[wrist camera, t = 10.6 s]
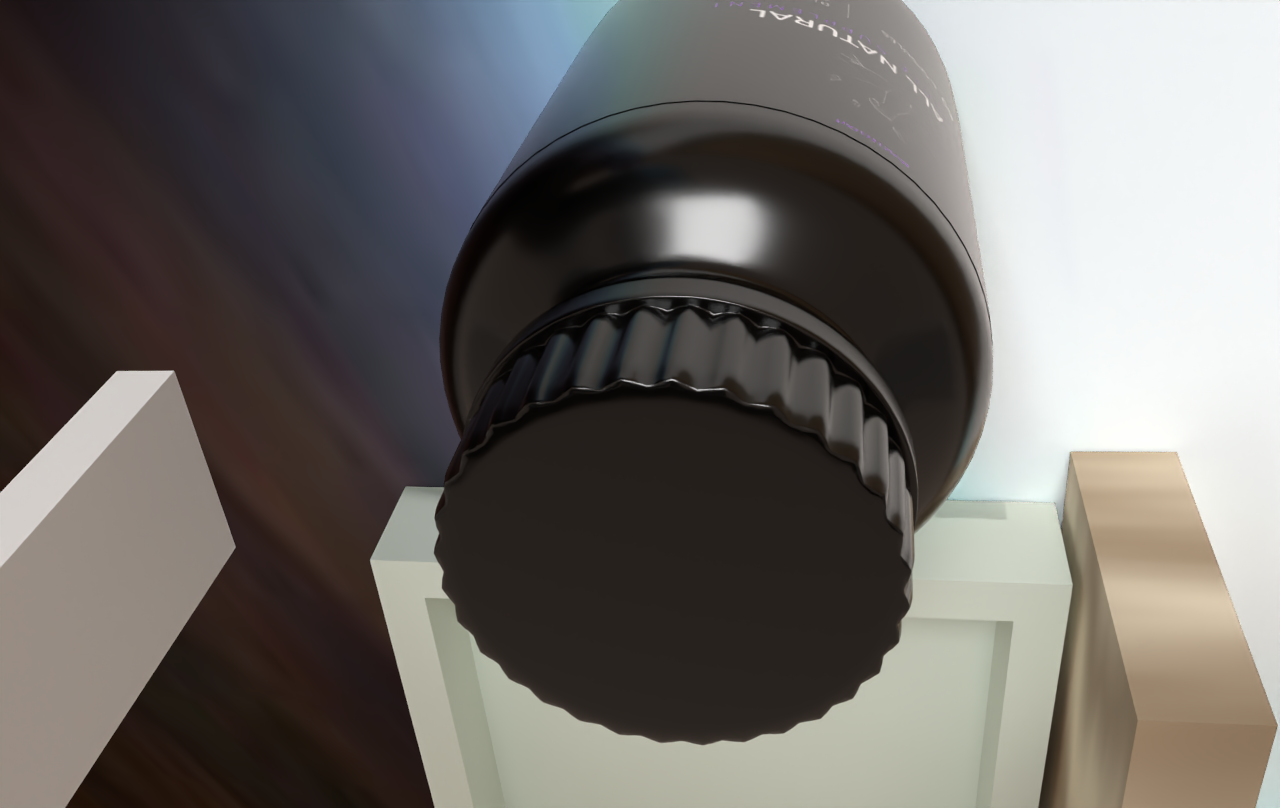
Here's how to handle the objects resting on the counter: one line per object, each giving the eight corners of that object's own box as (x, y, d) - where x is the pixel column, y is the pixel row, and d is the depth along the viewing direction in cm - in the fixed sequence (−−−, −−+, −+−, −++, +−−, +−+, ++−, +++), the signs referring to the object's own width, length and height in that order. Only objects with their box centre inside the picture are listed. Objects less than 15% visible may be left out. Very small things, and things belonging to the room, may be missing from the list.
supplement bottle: (955, -95, 19) (1063, 257, 9) (953, 289, 23) (1030, 827, 13) (533, -49, 21) (245, 302, 11) (595, 307, 24) (423, 808, 14)
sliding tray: (405, 486, 28) (370, 560, 26) (1054, 502, 25) (1072, 584, 23) (494, 872, 35) (473, 953, 33) (998, 911, 33) (1008, 1000, 31)
